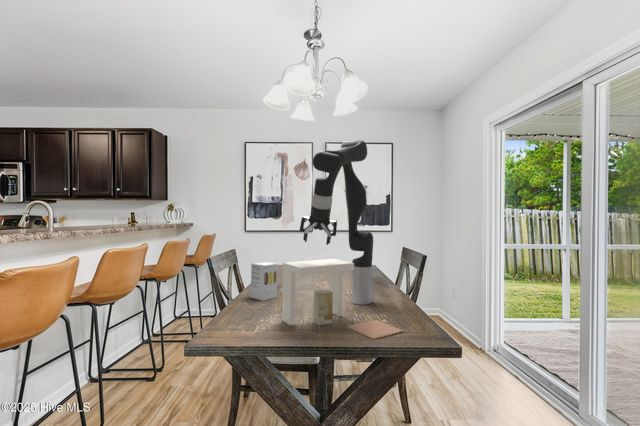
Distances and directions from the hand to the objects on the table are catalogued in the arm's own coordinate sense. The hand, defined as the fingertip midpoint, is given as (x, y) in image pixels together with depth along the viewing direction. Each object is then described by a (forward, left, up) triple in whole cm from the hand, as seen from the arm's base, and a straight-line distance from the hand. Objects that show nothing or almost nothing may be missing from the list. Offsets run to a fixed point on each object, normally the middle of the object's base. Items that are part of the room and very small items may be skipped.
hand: (316, 242), depth 138 cm
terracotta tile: (-11, +22, -30) cm, 39 cm away
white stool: (+1, +3, -30) cm, 30 cm away
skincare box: (+1, +6, -30) cm, 31 cm away
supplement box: (+5, -41, -30) cm, 51 cm away
